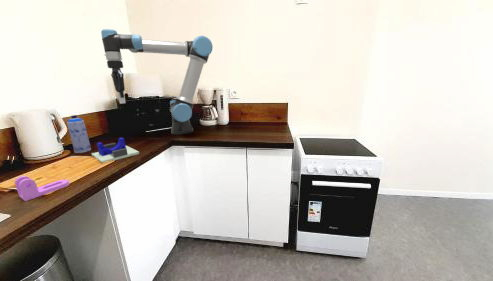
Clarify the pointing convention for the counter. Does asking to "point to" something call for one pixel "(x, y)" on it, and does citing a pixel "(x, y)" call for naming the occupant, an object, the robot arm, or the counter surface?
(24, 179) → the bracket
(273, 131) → the counter surface
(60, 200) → the counter surface
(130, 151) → the board
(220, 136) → the counter surface
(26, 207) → the counter surface
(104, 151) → the cable clip
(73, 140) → the aerosol can
